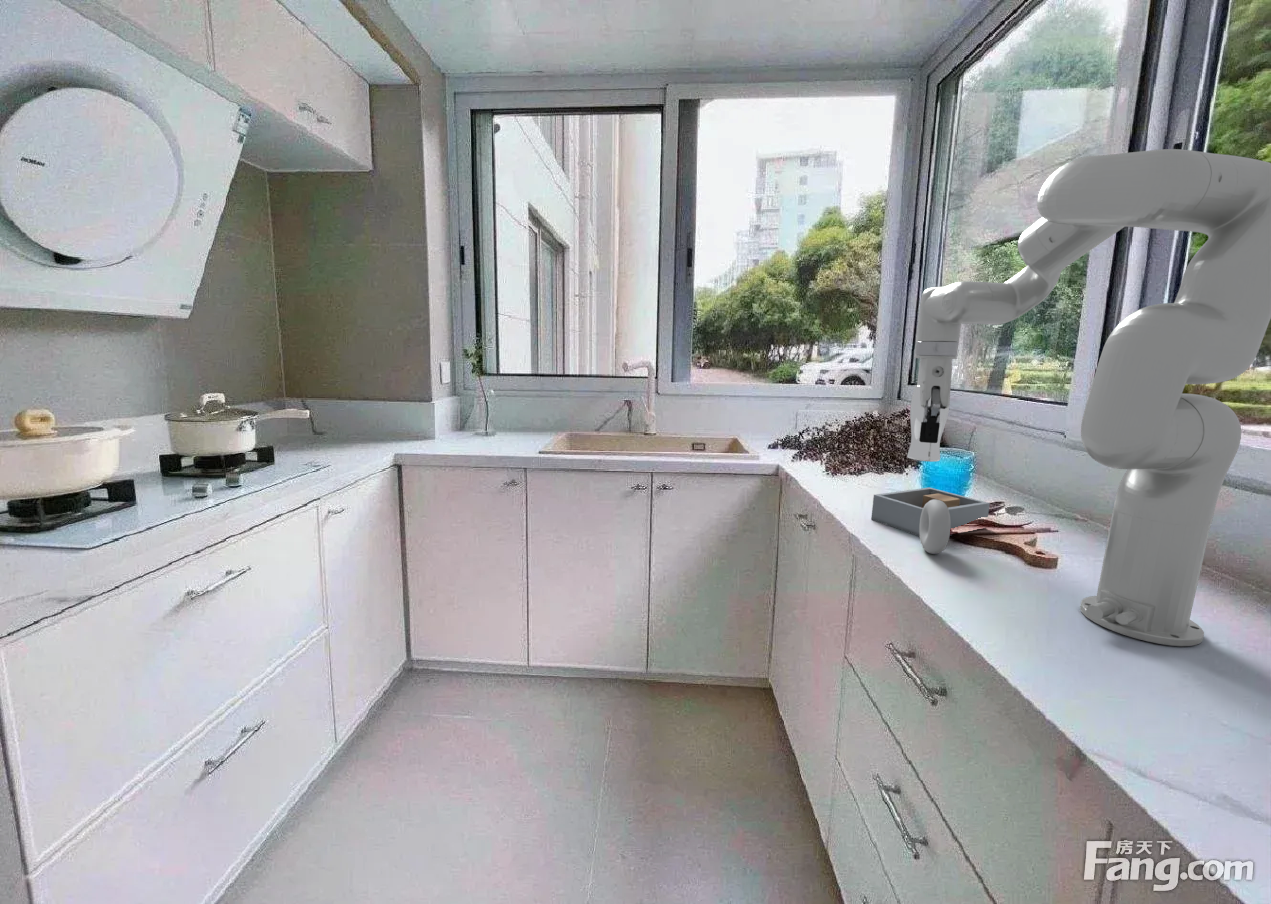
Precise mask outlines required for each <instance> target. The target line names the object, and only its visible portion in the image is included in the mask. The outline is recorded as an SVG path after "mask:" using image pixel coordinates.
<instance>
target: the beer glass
mask: <svg viewBox="0 0 1271 904" xmlns="http://www.w3.org/2000/svg"><path fill="white" fill-rule="evenodd" d="M913 386H914V387H913V392H912V395H911V396H912V397H911V401H910V409H909V410H910V411H909V412H910V413H909V416H910V417H909V418H910V433H911V435H910V436H911V437H910V445H909V448H908V451H907V455H906V456H907V458H908V459H910V460H914V461H921V462H939V461H940V460H941V450H940V447H941V446H940V445H941V444H940V443H941V440H942V436H943V432H944V430H945V426H946V424H947V422H948V421H947V420H948V416H949V412H950V403H951V400H950V401H949V407H948V408H947V409H944V408H945V407H946V406H941V405H942V402H941V403H940V422H939V423H940V426H939V434H938V442H937V443H926V442H920V441H919V438H920V430H921V422H923V416H924V408H922V407H921V402H920V386H918V385H917V384H914V385H913ZM940 401H941V399H940ZM927 406H929V407H931V406H932V401H931V397H930V398H929V400H928V401H927ZM928 411H929V410H928ZM927 415H928V414H927Z"/></svg>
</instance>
